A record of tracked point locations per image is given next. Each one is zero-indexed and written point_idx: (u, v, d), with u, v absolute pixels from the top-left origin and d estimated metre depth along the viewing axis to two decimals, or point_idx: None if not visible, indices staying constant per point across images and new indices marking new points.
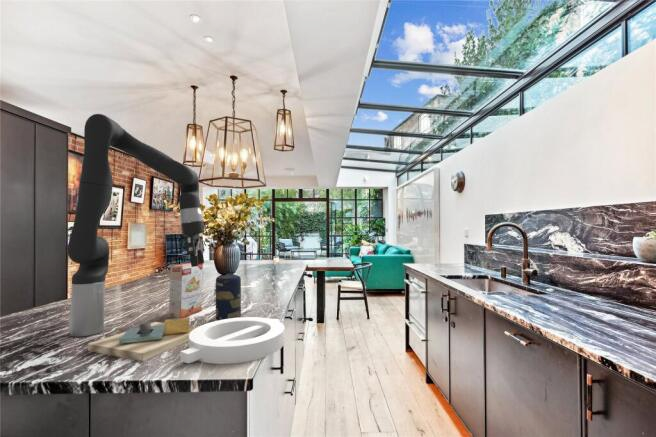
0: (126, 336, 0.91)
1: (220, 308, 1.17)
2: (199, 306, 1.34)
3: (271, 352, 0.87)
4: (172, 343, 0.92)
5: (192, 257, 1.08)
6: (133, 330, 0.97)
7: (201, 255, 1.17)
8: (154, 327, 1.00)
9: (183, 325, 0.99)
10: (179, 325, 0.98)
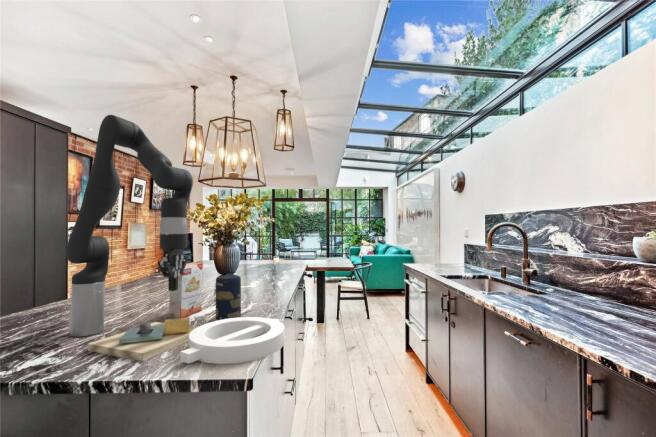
0: (126, 336, 0.91)
1: (220, 308, 1.17)
2: (199, 306, 1.34)
3: (271, 352, 0.87)
4: (172, 343, 0.92)
5: (170, 280, 0.92)
6: (133, 330, 0.97)
7: None
8: (154, 327, 1.00)
9: (183, 325, 0.99)
10: (179, 325, 0.98)
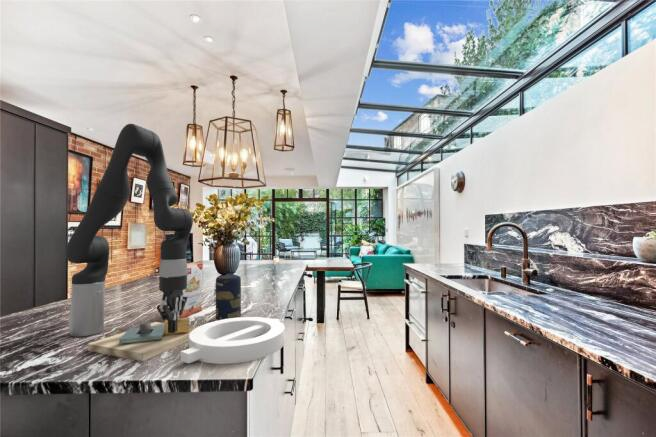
0: (126, 336, 0.91)
1: (220, 308, 1.17)
2: (199, 306, 1.34)
3: (271, 352, 0.87)
4: (172, 343, 0.92)
5: (169, 322, 0.91)
6: (133, 330, 0.97)
7: None
8: (154, 327, 1.00)
9: (183, 325, 0.99)
10: (179, 325, 0.98)
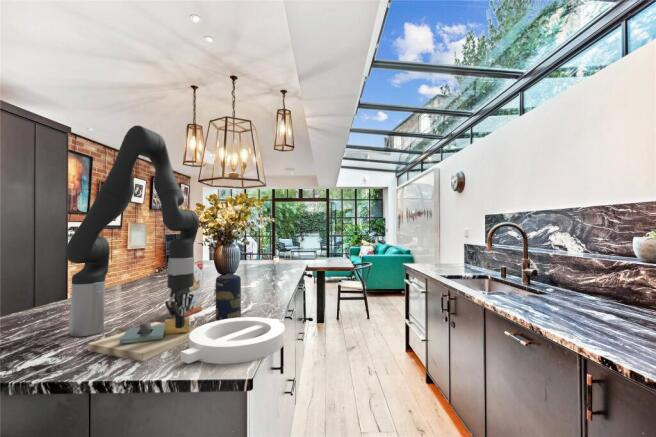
0: (127, 336, 0.91)
1: (220, 308, 1.17)
2: (199, 306, 1.34)
3: (271, 352, 0.87)
4: (172, 343, 0.92)
5: (177, 318, 0.96)
6: (133, 330, 0.97)
7: None
8: (154, 327, 1.00)
9: None
10: None
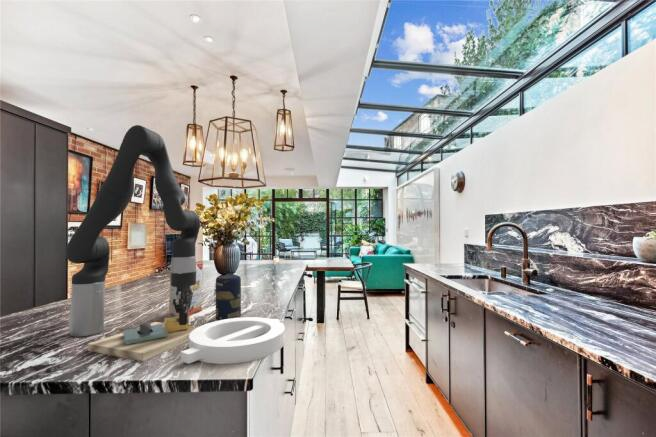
0: (130, 337, 0.91)
1: (220, 308, 1.17)
2: (199, 306, 1.34)
3: (271, 352, 0.87)
4: (172, 343, 0.92)
5: (181, 315, 0.99)
6: (130, 331, 0.96)
7: None
8: None
9: None
10: None
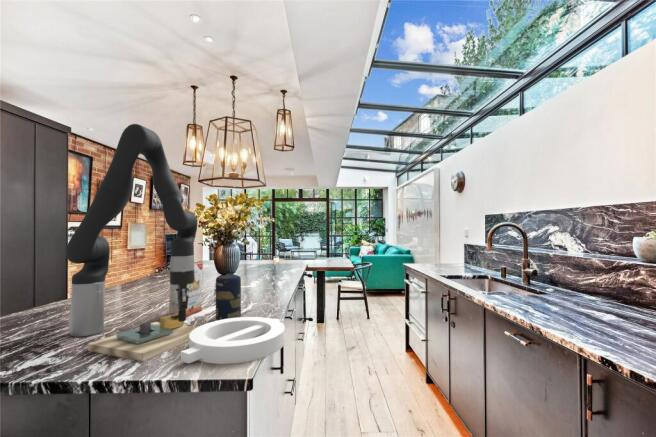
0: (137, 337, 0.91)
1: (220, 308, 1.17)
2: (199, 306, 1.34)
3: (271, 352, 0.87)
4: (172, 343, 0.92)
5: (181, 312, 1.03)
6: (128, 333, 0.94)
7: None
8: None
9: None
10: (176, 320, 1.04)
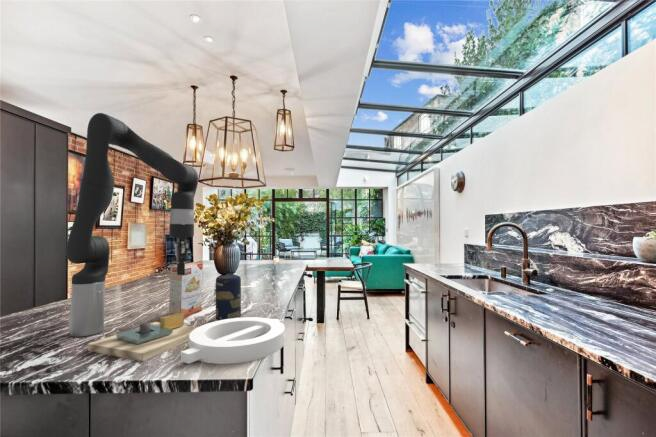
0: (137, 337, 0.91)
1: (220, 308, 1.17)
2: (199, 306, 1.34)
3: (271, 352, 0.87)
4: (172, 343, 0.92)
5: (180, 265, 1.02)
6: (128, 333, 0.94)
7: None
8: None
9: (179, 319, 1.05)
10: (176, 320, 1.04)
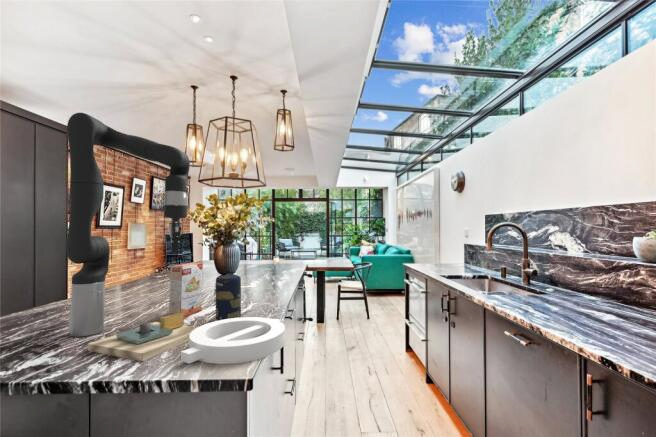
0: (137, 337, 0.91)
1: (220, 308, 1.17)
2: (199, 306, 1.34)
3: (271, 352, 0.87)
4: (172, 343, 0.92)
5: (175, 244, 1.09)
6: (128, 333, 0.94)
7: None
8: None
9: (179, 319, 1.05)
10: (176, 320, 1.04)
